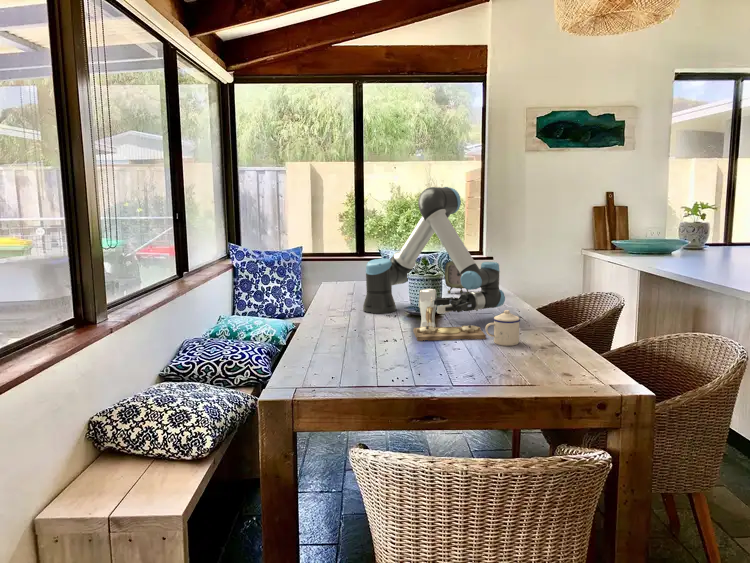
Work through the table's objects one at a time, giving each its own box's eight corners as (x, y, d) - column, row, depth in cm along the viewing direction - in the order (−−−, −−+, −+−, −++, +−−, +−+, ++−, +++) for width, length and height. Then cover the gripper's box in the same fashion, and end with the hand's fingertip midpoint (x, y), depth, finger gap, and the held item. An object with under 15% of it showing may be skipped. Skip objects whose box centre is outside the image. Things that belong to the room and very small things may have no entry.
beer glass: (439, 325, 226) (438, 289, 223) (433, 329, 219) (433, 292, 217) (422, 324, 228) (422, 288, 226) (416, 328, 222) (416, 291, 220)
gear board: (417, 340, 203) (417, 330, 202) (413, 331, 217) (413, 322, 216) (485, 338, 204) (485, 329, 203) (477, 329, 218) (477, 320, 217)
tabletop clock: (444, 293, 299) (444, 247, 296) (450, 291, 307) (450, 245, 303) (470, 295, 293) (470, 248, 289) (475, 292, 300) (476, 246, 297)
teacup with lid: (515, 339, 202) (516, 307, 201) (522, 345, 193) (523, 312, 192) (482, 340, 202) (483, 308, 201) (488, 346, 193) (488, 313, 192)
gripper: (490, 315, 221) (445, 322, 212) (453, 305, 243) (411, 310, 234) (490, 297, 220) (445, 302, 211) (453, 288, 242) (411, 293, 233)
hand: (427, 306), depth 222 cm, fingers open, 13 cm apart
